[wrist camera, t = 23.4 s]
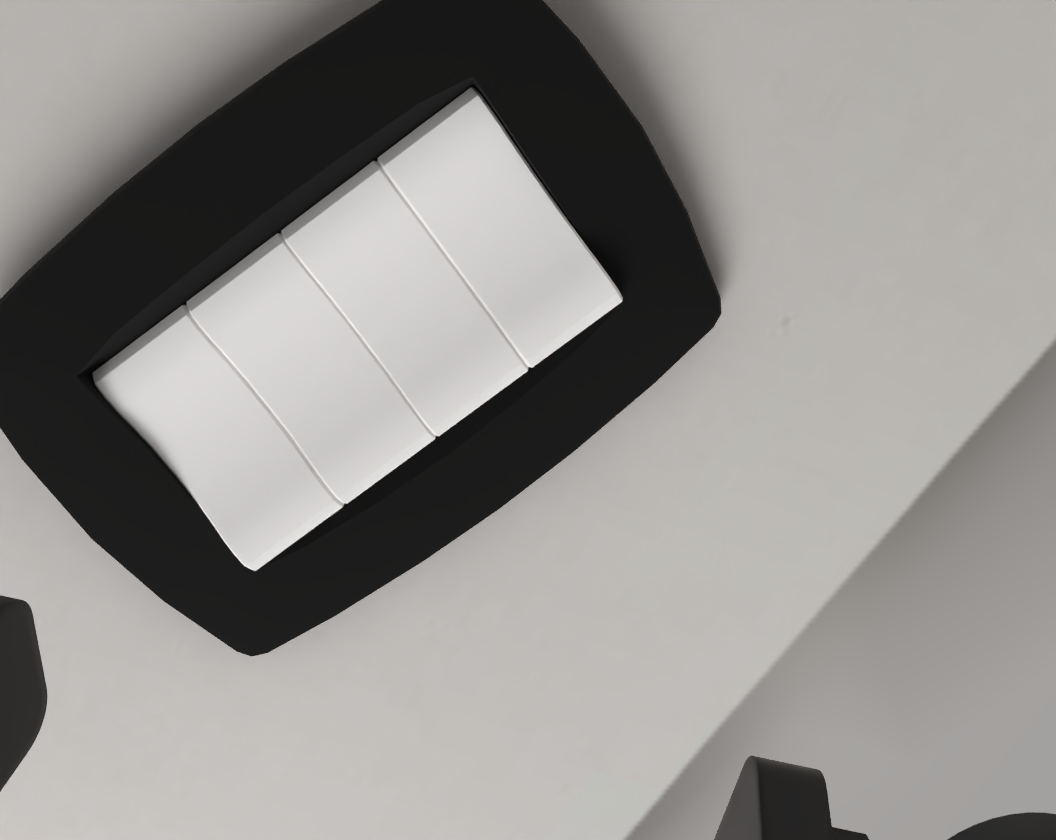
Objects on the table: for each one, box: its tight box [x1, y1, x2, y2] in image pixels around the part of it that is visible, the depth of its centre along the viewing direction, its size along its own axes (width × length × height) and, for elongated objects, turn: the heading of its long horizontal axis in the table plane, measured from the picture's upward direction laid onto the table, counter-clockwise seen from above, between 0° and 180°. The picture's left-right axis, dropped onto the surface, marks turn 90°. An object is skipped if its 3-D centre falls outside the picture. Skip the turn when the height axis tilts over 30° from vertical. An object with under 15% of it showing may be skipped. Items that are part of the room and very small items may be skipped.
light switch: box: [0, 0, 721, 656], centre depth 28 cm, size 20×3×14 cm
